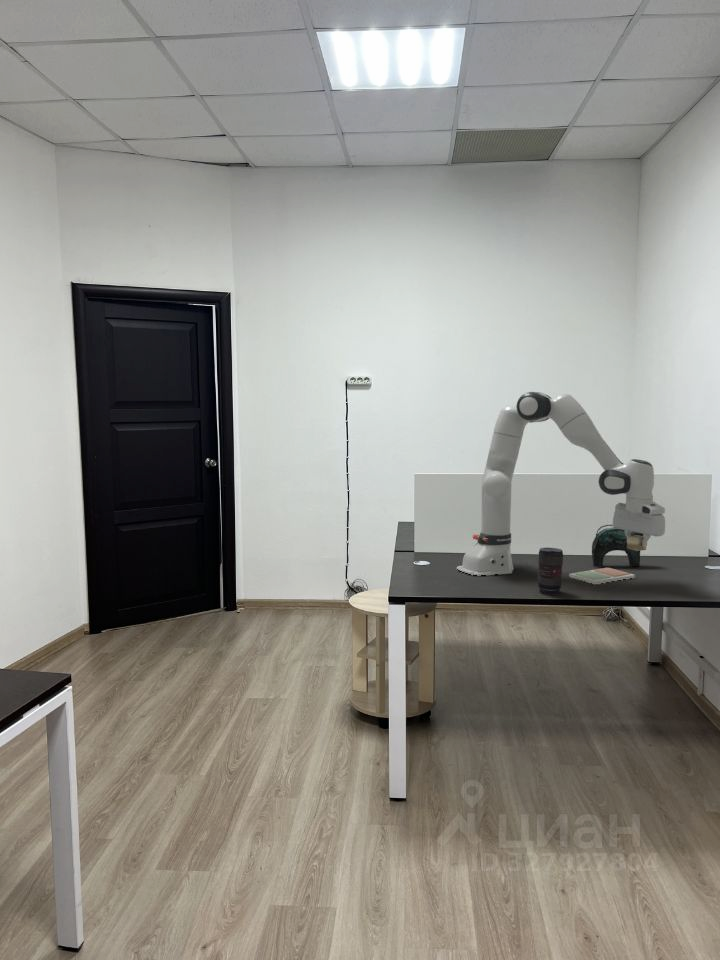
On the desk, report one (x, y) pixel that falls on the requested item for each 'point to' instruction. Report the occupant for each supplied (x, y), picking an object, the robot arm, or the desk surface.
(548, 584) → the camera lens
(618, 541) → the ceramic cat
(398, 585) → the desk surface
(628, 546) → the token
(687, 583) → the desk surface
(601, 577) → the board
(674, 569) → the desk surface
